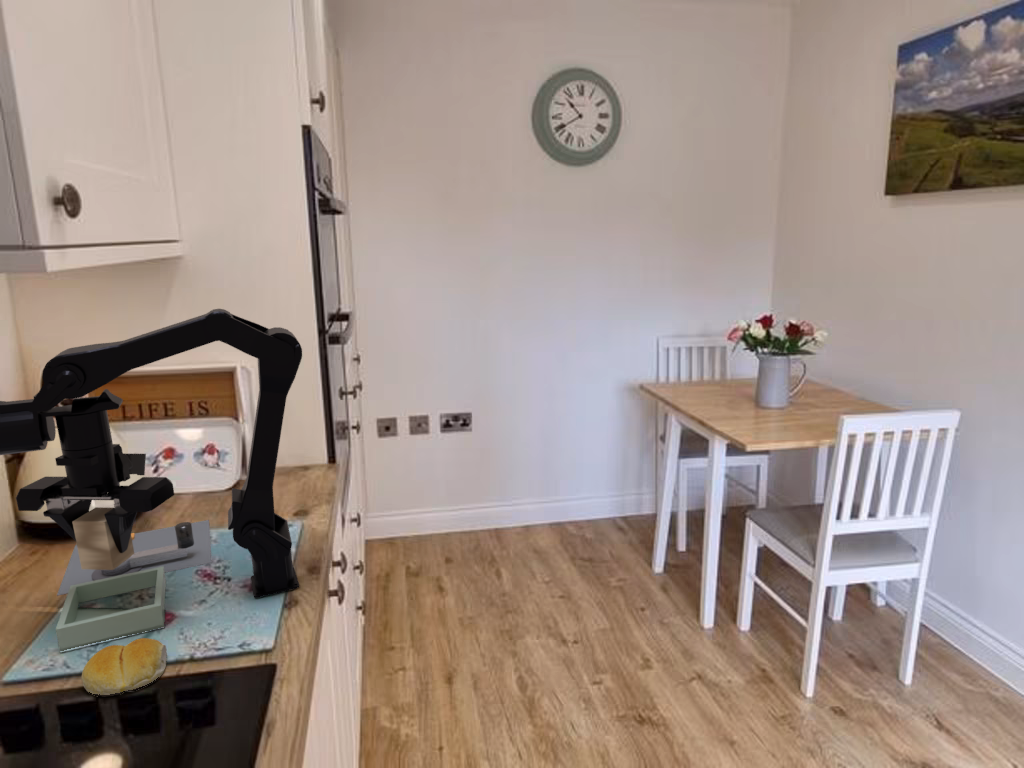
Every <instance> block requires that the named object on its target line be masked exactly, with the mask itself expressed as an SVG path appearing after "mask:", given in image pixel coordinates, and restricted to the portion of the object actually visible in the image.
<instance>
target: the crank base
mask: <svg viewBox="0 0 1024 768" xmlns="http://www.w3.org/2000/svg"><path fill="white" fill-rule="evenodd" d="M190 523H191V525H192V532H193V539H194V545H193V546H191V547H188V548H187V556H185V557H180V558H175V559H171V560H166V561H161V562H156V563H151V564H146V565H141V566H137V567H132V568H130V569H128V570H126V571H124V572H122V573H118V574H114V575H104V574H102V573H101V570H93V569H82V568H81V563H80V558H79V553H78V548H77V544H75V546H74V548H73V551H72V553H71V556H70V558H69V561H68V565H67V567H66V570H65V573H64V575H63V578H62V580H61V583H60V586H59V588H58V591H57V594H56V596H57V597H58V596H62V595H68V592H69V589H70V586H71V585H76V584H81V583H86V582H90V581H95V580H100V579H105V578H110V577H114V576H119V575H124V574H129V573H133V572H138V571H143V570H148V569H153V568H157V567H162V566H164V571H165V574H166V573H170V572H175V571H181V570H183V569H184V570H185V569H189V568H192V567H199V566H204V565H207V564H212V563H213V559H212V546H211V534H210V533H211V531H210V519H207V520H205V519H204V520H201V521H195V522H190ZM175 526H176V525H174V526H169V527H163V528H159V529H153V530H152V529H151V530H147V531H141V532H136V533H135V532H131V537H132V543H133V549H134V553H136V552H141V551H146V550H151V549H156V548H161V547H166V546H171V545H176V544H177V537H176V531H175Z"/></svg>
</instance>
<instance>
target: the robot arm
mask: <svg viewBox="0 0 1024 768" xmlns="http://www.w3.org/2000/svg"><path fill="white" fill-rule="evenodd" d="M214 342H221V343H223V344H226V345H229V346H230V347H233V348H234V349H236V350H238V351H241V352H242V353H244V354H247V355H248V356H251V357H253V358H256V359H257V369H258V370H257V371H258V374H257V375H258V390H259V391H258V397H257V405H256V409H255V410H256V411H255V417H254V424H253V430H252V439H251V444H250V450H249V458H248V463H247V472H246V478H245V480H244V483H243V485H242V487H241V489H240V488H233V487H232V488H231V505H230V508H229V509H228V510H227V530H229V531H230V530H232V538H233V541H234V542H235V543H236V544H237V545H238V546H239V547H241V548H243V549H244V550H248V552H249V554H250V557H251V565H252V573H253V575H251V576H250V584H251V588H252V594H253V598H254V599H259V598H262V597H267V596H271V595H272V596H273V595H276V594H279V593H284V592H288V591H292V590H296V589H299V588H300V581H299V579H298V576H297V573H296V569H295V567H294V565H293V554H292V546H293V543H292V538H291V533H290V527H289V524H288V520H287V519H285V518H284V517H283V516H281V515H279V514H277V513H276V512H275V503H274V502H275V501H274V480H275V473H276V468H277V462H278V461H277V460H278V454H279V449H280V442H281V435H282V429H283V428H282V427H283V423H284V416H285V411H286V410H285V409H286V403H287V397H288V394H289V392H290V389H291V388H292V385H293V383H294V382H295V379H296V375H297V373H298V370H299V369H300V368H299V367H300V364H301V362H302V358H303V348H302V346H301V344H300V342H299V340H298V338H297V337H296V336H295V335H294V334H293V332H292V331H290V330H289V329H286V328H284V327H281V326H280V327H278V326H277V327H272V328H268V327H266V326H264V325H260V324H258V323H256V322H254V321H251V320H248V319H245V318H243V317H240V316H238V315H235V314H233V313H231V312H230V311H229V310H226V309H224V308H214V309H212V310H210V311H208V312H206V313H204V314H201V315H198V316H194V317H192V318H188V319H186V320H183V321H179V322H175V323H174V324H171V325H168V326H165V327H161V328H158V329H155V330H153V331H149V332H146V333H142V334H138V335H137V336H133V337H130V338H126V339H125V340H120V341H113V342H103V343H102V342H101V343H94V344H87V345H81V346H75V347H74V346H73V347H70V348H67V349H65V350H62V351H60V352H59V353H58V354H56V355H55V356H54V357H52V358H50V360H48V361H46V364H45V366H44V367H43V369H42V376H41V377H42V381H43V384H42V386H41V387H40V389H39V391H38V392H37V393H36V394H35V395H33V398H30V399H22V400H21V399H19V400H11V401H5V400H4V401H3V400H0V456H5V455H12V454H20V453H21V454H22V453H28V452H29V453H30V452H37V451H38V452H39V451H45V450H46V449H47V446H48V442H54V441H55V439H56V432H57V433H58V438H59V444H60V449H61V454H62V455H60V456H57V457H55V458H54V459H55V460H54V461H55V465H56V466H57V467H58V466H59V467H63V466H64V469H65V474H66V475H65V476H44V477H41V478H40V479H37V480H35V481H34V482H31V483H29V484H27V485H25V486H23V487H21V488H20V489H19V490H18V492H17V495H16V497H15V501H16V505H17V510H18V511H19V512H38V511H40V510H41V509H42V508H43V507H44V505H46V510H44V511H43V513H42V514H43V516H44V517H45V518H46V517H47V518H50V519H51V520H52V521H53V522H55V523H56V524H57V526H59V527H60V528H61V529H63V530H64V531H65V532H66V534H68V535H69V536H70V537H71V538H72V540H74V541H75V542H76V538H75V533H74V528H73V523H72V522H73V521H74V520H76V519H77V518H79V517H81V516H82V515H84V514H86V513H87V512H89V511H90V508H91V504H92V501H113V505H114V507H112V508H113V509H112V510H110V511H108V512H107V513H105V514H104V516H105V518H106V521H107V524H108V526H109V529H110V531H111V534H112V537H113V540H114V542H115V545H116V547H117V549H118V551H119V552H120V553H123V552H125V551H126V550H127V548H128V544H129V540H130V536H131V533H132V532H133V531H132V530H133V527H134V523H135V520H136V517H137V514H138V513H148V512H151V511H153V510H154V509H156V508H157V507H159V506H160V505H162V504H163V503H165V502H166V501H167V500H169V499H170V498H172V497H174V496H175V491H174V490H175V489H174V484H173V482H172V481H171V480H170V479H169V478H168V477H166V476H164V477H163V476H145V475H146V474H145V473H146V471H145V470H146V457H147V456H146V455H147V454H146V453H123V447H122V446H121V445H120V443H113V439H112V431H111V426H110V425H111V424H110V420H109V414H108V411H113V410H118V409H120V406H121V405H122V403H124V400H123V398H121V397H120V396H118V395H115V394H113V393H112V392H111V391H110V390H109V389H108V388H105V389H103V391H102V392H101V394H99V395H97V396H87V397H84V396H86V395H88V394H91V393H92V392H94V391H96V390H98V389H99V388H101V387H103V386H105V385H107V384H109V383H111V382H112V381H114V380H115V379H117V378H119V377H120V376H122V375H123V374H126V373H128V372H129V371H131V370H134V369H138V368H141V367H142V366H146V365H150V364H152V363H155V362H159V361H161V360H164V359H167V358H170V357H174V356H176V355H178V354H182V353H185V352H187V351H191V350H194V349H197V348H199V347H202V346H203V347H204V346H205V345H206V346H207V345H210V344H211V343H214ZM64 400H72V403H71V404H67V405H62V406H61V405H60V406H58V405H59V404H60V403H61V402H63V401H64ZM54 418H55V419H54ZM55 422H56V423H55ZM56 429H57V431H56ZM131 475H137V476H143V477H141V478H139V479H138V480H135V481H134V482H132V483H131V484H129V485H120V483H121V482H126V481H128V480H130V479H131Z"/></svg>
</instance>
